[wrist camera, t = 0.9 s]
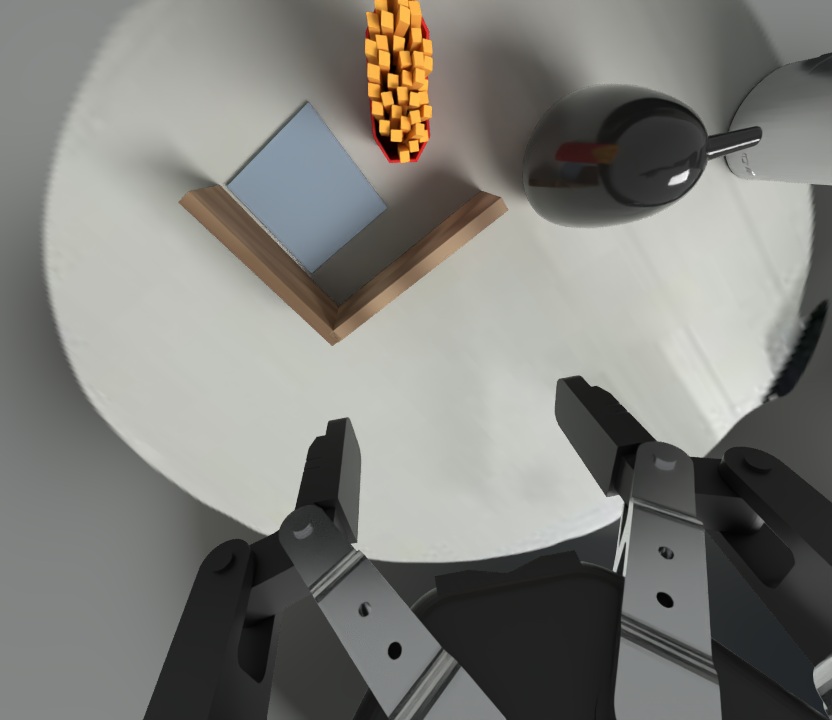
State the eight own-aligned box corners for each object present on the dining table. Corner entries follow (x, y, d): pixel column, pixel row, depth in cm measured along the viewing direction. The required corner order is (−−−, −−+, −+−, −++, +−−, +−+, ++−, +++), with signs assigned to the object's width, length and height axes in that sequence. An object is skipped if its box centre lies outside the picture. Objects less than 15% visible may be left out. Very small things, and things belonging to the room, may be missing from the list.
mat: (309, 102, 28) (308, 102, 28) (387, 207, 33) (387, 207, 33) (228, 186, 31) (226, 186, 30) (311, 272, 35) (311, 273, 35)
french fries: (417, 159, 31) (439, 162, 21) (373, 160, 31) (373, 164, 21) (414, 33, 27) (440, -42, 16) (362, 33, 26) (357, -43, 16)
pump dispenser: (615, 199, 35) (760, 225, 22) (516, 232, 35) (599, 278, 22) (617, 74, 29) (809, 12, 17) (499, 116, 30) (596, 88, 17)
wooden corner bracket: (380, 17, 26) (382, -16, 21) (487, 201, 34) (508, 210, 28) (210, 194, 31) (178, 202, 26) (338, 320, 38) (333, 346, 33)
